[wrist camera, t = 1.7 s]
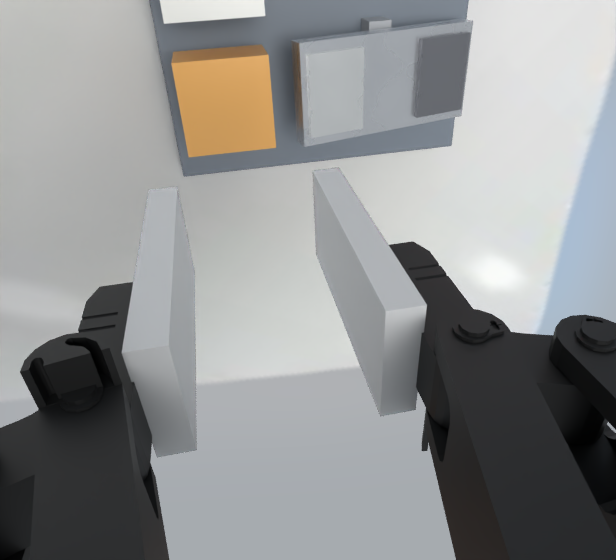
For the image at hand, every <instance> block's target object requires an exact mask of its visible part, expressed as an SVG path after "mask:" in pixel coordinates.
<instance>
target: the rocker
mask: <svg viewBox="0 0 616 560" xmlns="http://www.w3.org/2000/svg"><path fill="white" fill-rule="evenodd" d="M472 26H473V21H471V20H465V19H455V20H447V21H439V22H431V23H423V24H416V25H408V26H400V27H392V28H384V29H376V30H368V31H360V32H352V33H344V34H336V35H328V36H320V37H313V38H305V39H297V40H291V44H292V62H293V79H294V96H295V113H296V130H297V142H299V143H300V144H301V145H303V146H304V147H307V146H312V145H317V144H322V143H327V142H332V141H337V140H342V139H347V138H352V137H357V136H362V135H367V134H372V133H378V132H383V131H388V130H393V129H398V128H403V127H408V126H413V125H418V124H423V123H428V122H433V121H438V120H443V119H448V118H453V117H458V116H461V114H462V106H463V98H464V90H465V82H466V74H467V66H468V58H469V50H470V42H471V34H472Z"/></svg>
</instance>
